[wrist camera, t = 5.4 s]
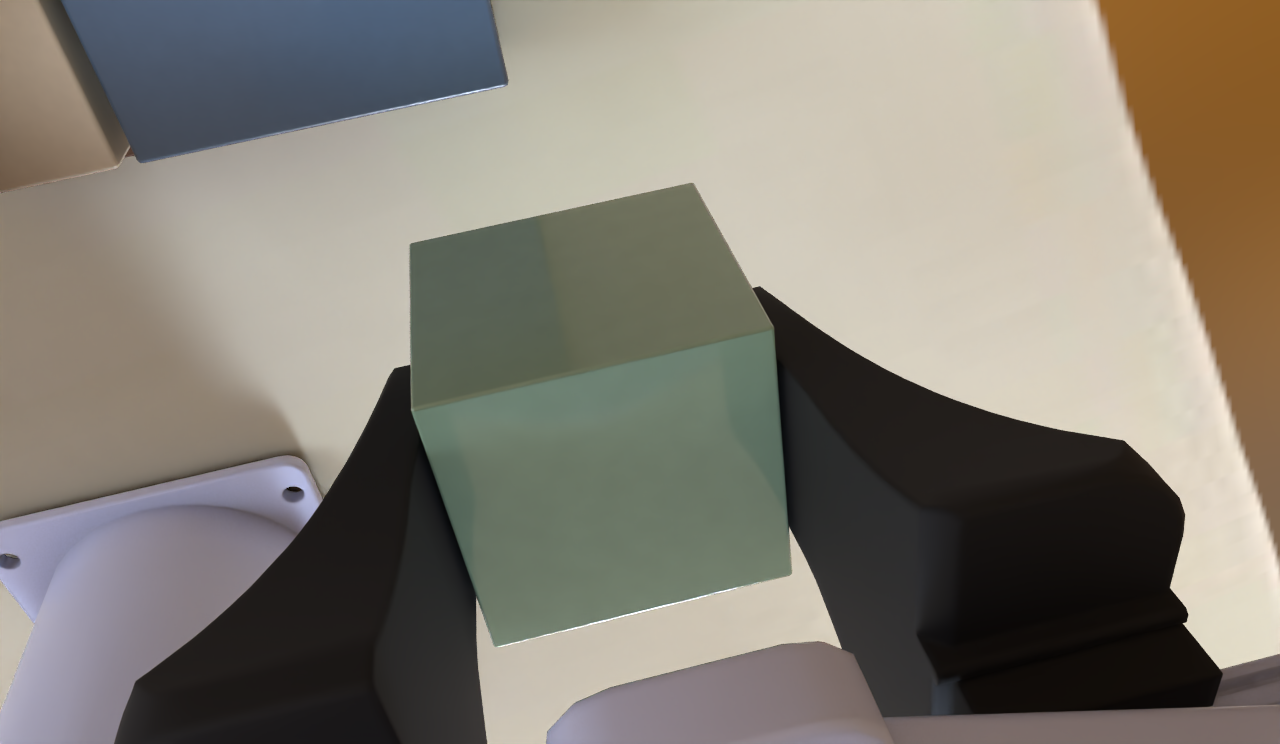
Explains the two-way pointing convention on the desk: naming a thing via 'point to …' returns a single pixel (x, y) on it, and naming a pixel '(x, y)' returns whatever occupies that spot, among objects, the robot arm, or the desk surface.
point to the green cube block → (599, 411)
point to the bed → (218, 73)
